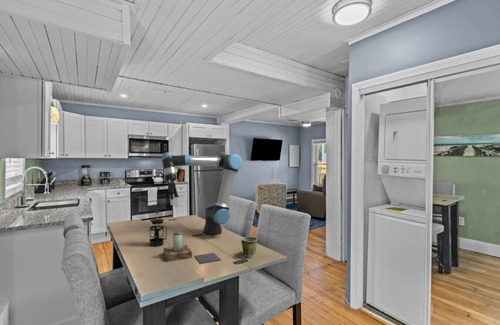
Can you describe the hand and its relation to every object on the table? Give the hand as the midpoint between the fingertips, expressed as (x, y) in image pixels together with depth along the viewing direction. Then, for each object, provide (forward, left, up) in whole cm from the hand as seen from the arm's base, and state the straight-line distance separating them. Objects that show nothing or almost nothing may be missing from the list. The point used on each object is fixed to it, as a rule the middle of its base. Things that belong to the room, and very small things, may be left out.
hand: (175, 205), depth 166 cm
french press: (+9, -12, -28) cm, 32 cm away
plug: (+1, +15, -28) cm, 31 cm away
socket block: (+1, +15, -28) cm, 31 cm away
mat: (-14, +27, -28) cm, 41 cm away
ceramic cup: (-39, +31, -28) cm, 57 cm away
